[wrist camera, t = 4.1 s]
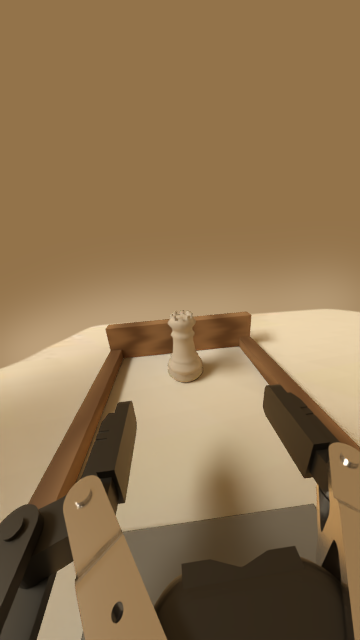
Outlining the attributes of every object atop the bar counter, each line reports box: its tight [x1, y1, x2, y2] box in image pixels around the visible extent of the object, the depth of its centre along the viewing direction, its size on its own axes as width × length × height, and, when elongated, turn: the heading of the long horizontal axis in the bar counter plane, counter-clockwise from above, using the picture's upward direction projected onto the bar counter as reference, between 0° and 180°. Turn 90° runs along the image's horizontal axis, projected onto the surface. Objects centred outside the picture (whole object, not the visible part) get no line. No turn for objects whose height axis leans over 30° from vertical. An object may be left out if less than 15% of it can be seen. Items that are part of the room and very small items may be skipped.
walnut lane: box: [28, 312, 360, 509], centre depth 20 cm, size 21×20×5 cm
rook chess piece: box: [168, 310, 203, 382], centre depth 22 cm, size 4×4×8 cm
